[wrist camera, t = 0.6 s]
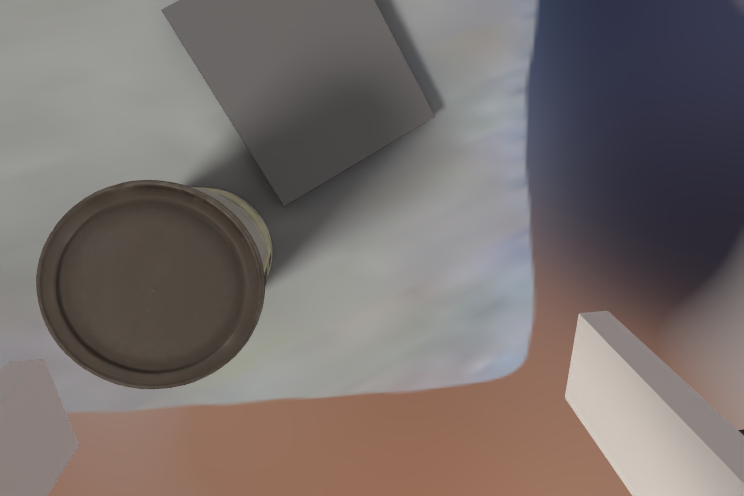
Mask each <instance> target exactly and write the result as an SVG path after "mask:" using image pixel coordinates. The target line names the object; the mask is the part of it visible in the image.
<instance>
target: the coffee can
mask: <svg viewBox="0 0 744 496" xmlns="http://www.w3.org/2000/svg"><path fill="white" fill-rule="evenodd" d="M272 252H273V248H272V241H271V237H270V234H269V231H268V228H267V226H266V224H265V222H264V221H263V219H262V218H261V216H260V215H259V213H258V212H257V211H256V210H255V209H254V208H253V207H252V206H251V205H250V204H249V203H248V202H246V201H245V200H243V199H242V198H240V197H238V196H237V195H235V194H232V193H230V192H227V191H224V190H221V189H216V188H206V187H197V188H196V187H188V186H185V185H181V184H177V183H172V182H165V181H157V180H140V181H130V182H125V183H121V184H117V185H114V186H110V187H107V188H104V189H102V190H100V191H97V192H95V193H93V194H92V195H90V196H88V197H86V198H85V199H83V200H82V201H80V202H79V203H78V204H76V205H75V206H74V207H73V208H72V209H70V210H69V211H68V212H67V213H66V214H65V215H64V216H63V217H62V219H61V220H60V221H59V222H58V223H57V224H56V226H55V228H54V229H53V231H52V232H51V233H50V235H49V237H48V239H47V241H46V243H45V245H44V247H43V250H42V253H41V256H40V258H39V263H38V269H37V276H36V285H37V296H38V302H39V307H40V310H41V314H42V316H43V319H44V322H45V324H46V326H47V328H48V330H49V332H50V334H51V336H52V337H53V338H54V340H55V341H56V343H57V344H58V346H59V347H60V348H61V349H62V350H63V351H64V352H65V354H67V355H68V356H69V357H70V358H71V359H72V360H73V361H75V362H76V363H77V364H78V365H80V366H81V367H83V368H84V369H86V370H87V371H89V372H91V373H92V374H94V375H96V376H98V377H100V378H102V379H105V380H107V381H109V382H112V383H115V384H118V385H122V386H126V387H132V388H139V389H161V388H172V387H176V386H182V385H186V384H189V383H192V382H195V381H197V380H200V379H202V378H204V377H206V376H208V375H210V374H212V373H214V372H215V371H217V370H218V369H220V368H221V367H223V366H224V365H225V364H227V363H228V362H229V361H230V360H231V359H232V358H234V357H235V356H236V355H237V354H238V352H239V351H240V350H241V349H242V348H243V346H244V345H245V344H246V343H247V341H248V340H249V338H250V336H251V335H252V333H253V331H254V329H255V327H256V325H257V323H258V320H259V317H260V314H261V311H262V307H263V302H264V294H265V284H266V280H267V277H268V274H269V272H270V268H271V264H272V255H273V254H272Z"/></svg>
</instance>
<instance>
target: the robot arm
mask: <svg viewBox="0 0 744 496" xmlns="http://www.w3.org/2000/svg"><path fill="white" fill-rule="evenodd" d="M565 399H566V400H567V402H568V403H569V404H570V406H571V407H572V409H573V410H574V412H575V413H576V414H577V416H578V417H579V419H580V420H581V422H582V423H583V425H584V426H585V427H586V429H587V430H588V432H589V433H590V435H591V436H592V438H593V439H594V441H595V442H596V444H597V445H598V447H599V448H600V449H601V451H602V452H603V454H604V455H605V457H606V458H607V460H608V461H609V462H610V464H611V465H612V467H613V468H614V470H615V471H616V473H617V474H618V475H619V477H620V478H621V480H622V481H623V483H624V484H625V486H626V487H627V489H628V490H629V492H630V493H631V494H632V496H744V430H737V429H736V428H735V427H734V426H733V425H732V424H731V423H729V422H728V421H727V420H726V419H725V418H724V417H723V416H722V415H721V414H720V413H718V411H716V410H715V409H714V408H713V407H712V406H711V405H710V404H709V403H708V402H707V401H705V400H704V399H703V398H702V397H701V396H700V395H699V394H698V393H697V392H696V391H695V390H693V389H692V388H691V387H690V386H689V385H688V384H687V383H686V382H685V381H684V380H683V379H681V378H680V377H679V376H678V375H677V374H676V373H675V372H674V371H673V370H672V369H671V368H669V367H668V366H667V365H666V364H665V363H664V362H663V361H662V360H661V359H660V358H659V357H657V356H656V355H655V354H654V353H653V352H652V351H651V350H650V349H649V348H648V347H647V346H646V345H644V344H643V343H642V342H641V341H640V340H639V339H638V338H637V337H636V336H634V335H633V334H632V333H631V332H630V331H629V330H628V329H627V328H626V327H625V326H624V325H623V324H621V323H620V322H619V321H618V320H617V319H616V318H615V317H614V316H613V315H612V314H610V313H609V312H608V311H601V312H590V313H579V316H578V322H577V329H576V334H575V340H574V346H573V352H572V359H571V364H570V370H569V376H568V382H567V388H566V394H565ZM78 446H79V443H78V441H77V439H76V436H75V433H74V431H73V429H72V426H71V424H70V421H69V419H68V416H67V414H66V411H65V409H64V407H63V404H62V402H61V399H60V397H59V394H58V392H57V390H56V387H55V385H54V382H53V380H52V377H51V375H50V373H49V370H48V368H47V365H46V363H45V360H44V359H39V360H27V361H15V362H10V363H8V364H7V365H6V366H5V367H4V368H3V369H2V370H1V371H0V496H47V495H48V493H49V492H50V490H51V488H52V487H53V485H54V484H55V482H56V480H57V479H58V478H59V476H60V474H61V473H62V471H63V469H64V468H65V467H66V465H67V464H68V462H69V460H70V459H71V457H72V456H73V454H74V453H75V451H76V449H77V448H78Z"/></svg>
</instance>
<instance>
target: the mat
mask: <svg viewBox="0 0 744 496" xmlns="http://www.w3.org/2000/svg"><path fill="white" fill-rule="evenodd" d="M162 12H163V14H164V15H165V17H166V18H167V20H168V22H169V23H170V25H171V26H172V28H173V30H174V31H175V33H176V34H177V36H178V38H179V39H180V41H181V42H182V44H183V46H184V47H185V49H186V50H187V52H188V54H189V55H190V57H191V58H192V60H193V62H194V63H195V65H196V66H197V68H198V70H199V71H200V73H201V74H202V76H203V78H204V79H205V81H206V82H207V84H208V86H209V87H210V89H211V90H212V92H213V94H214V95H215V97H216V98H217V100H218V102H219V103H220V105H221V106H222V108H223V110H224V111H225V113H226V114H227V116H228V118H229V119H230V121H231V122H232V124H233V126H234V127H235V129H236V130H237V132H238V134H239V135H240V137H241V138H242V140H243V142H244V143H245V145H246V146H247V148H248V150H249V151H250V153H251V154H252V156H253V158H254V159H255V161H256V162H257V164H258V166H259V167H260V169H261V171H262V172H263V174H264V175H265V177H266V179H267V180H268V182H269V183H270V185H271V187H272V188H273V190H274V191H275V193H276V195H277V196H278V198H279V199H280V201H281V203H282V204H283V206H286V205H287V204H289V203H291V202H292V201H294V200H296V199H297V198H299V197H301V196H302V195H304V194H306V193H307V192H309V191H311V190H312V189H314V188H316V187H318V186H319V185H321V184H323V183H324V182H326V181H328V180H329V179H331V178H333V177H334V176H336V175H338V174H339V173H341V172H343V171H344V170H346V169H348V168H349V167H351V166H353V165H355V164H356V163H358V162H360V161H361V160H363V159H365V158H366V157H368V156H370V155H371V154H373V153H375V152H376V151H378V150H380V149H381V148H383V147H385V146H386V145H388V144H390V143H392V142H393V141H395V140H397V139H398V138H400V137H402V136H403V135H405V134H407V133H408V132H410V131H412V130H413V129H415V128H417V127H418V126H420V125H422V124H423V123H425V122H427V121H429V120H430V119H432V118H434V117H435V115H434V113H433V111H432V109H431V107H430V105H429V104H428V102H427V100H426V98H425V96H424V94H423V92H422V90H421V88H420V86H419V84H418V83H417V81H416V79H415V77H414V75H413V73H412V71H411V69H410V67H409V65H408V63H407V62H406V60H405V58H404V56H403V54H402V52H401V50H400V48H399V46H398V44H397V43H396V41H395V39H394V37H393V35H392V33H391V31H390V29H389V27H388V25H387V23H386V22H385V20H384V18H383V16H382V14H381V12H380V10H379V8H378V6H377V4H376V2H375V1H374V0H179V1H177V2H175V3H174V4H172V5H170V6H168V7H166V8H164V9H162Z"/></svg>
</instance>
